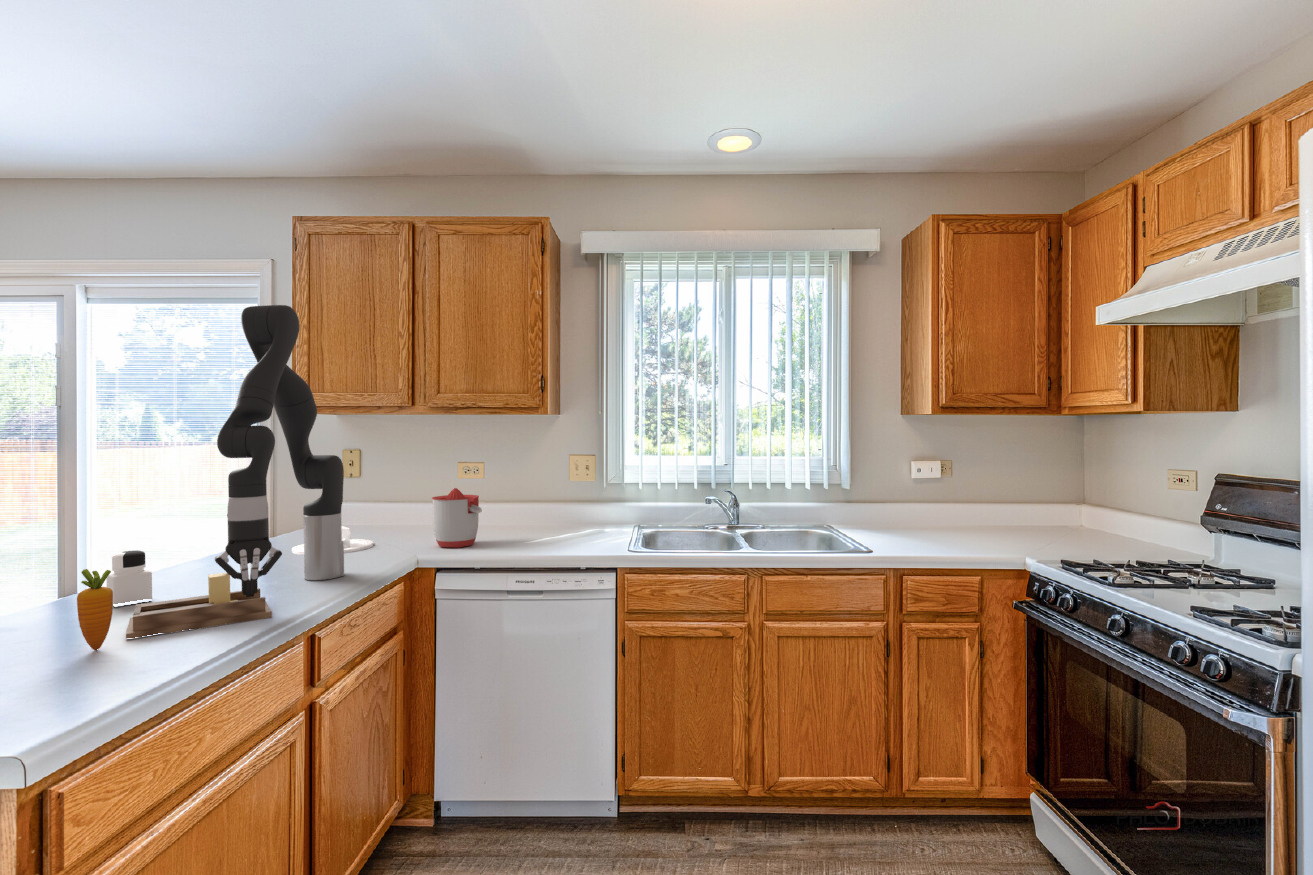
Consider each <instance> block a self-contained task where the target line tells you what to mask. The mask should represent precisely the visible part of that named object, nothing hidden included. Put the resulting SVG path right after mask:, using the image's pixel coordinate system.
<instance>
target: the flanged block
mask: <svg viewBox="0 0 1313 875" xmlns="http://www.w3.org/2000/svg"><path fill="white" fill-rule="evenodd" d="M207 578H208V580H207V581H208V582H207V583H208V595H209V603H213V602H214V604H218V603H225V602H232V601H238V600H232V601H230V592H231V576H230V575H229V574H228V573H227V572H221V573H212V574H208V575H207Z"/></svg>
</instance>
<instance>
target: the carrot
mask: <svg viewBox="0 0 1313 875" xmlns="http://www.w3.org/2000/svg"><path fill="white" fill-rule="evenodd" d="M111 572H112V570H110V569H106V570H105V571H104V572H103V573H102V575H100V574H99V572H98V571H97V570H93V571H91V572H90V570H89V569H88V568H84V569H82V570H81V572H80V573H81V574H82V576H83V578H85V580H82V581H80V583H81V584H83V585H84V586H87V587H88V588H85V589H84V590H81V591H80V592H79V593H78V594H77V596H76V606H77V607H76V608H77V617H78V618H77V619H78V624H79V627H80V629H81V633H82V636H83V639H84V640H85V642H86V643H87V644H88V645H89V647H90V648H91V649H92V650H94V651H95V650H97V649H98V650H99V649H101V647H102V645H103V643H104V642H105V640H106V638H107V636H108V634H109V631H110V627H111V622H112V617H113V608H114V607H113V591H112V589H110V588H107V586H103V585H104V583H105V581H106V578H107V577H108V575H109V574H110V573H111ZM91 573H92V574H91ZM98 650H97V651H98Z"/></svg>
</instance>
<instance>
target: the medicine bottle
mask: <svg viewBox="0 0 1313 875" xmlns="http://www.w3.org/2000/svg"><path fill="white" fill-rule="evenodd" d="M111 566H112V567H111V573H110V574H109V575H108V577H107V578H106V580H105V581H106V582H105V583H106V587H107V588H110V589H112V591H113V604H118V603H125V602H130V601H137V600H143V599H152V600H153V572H152V571H150V570H148V569H146V553H145V551H143V550H137V549H136V550H127V551H126V550H125V551H119V552H117V553H115V554H113V555H112V556H111Z"/></svg>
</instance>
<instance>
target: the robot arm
mask: <svg viewBox="0 0 1313 875" xmlns="http://www.w3.org/2000/svg"><path fill="white" fill-rule="evenodd" d="M240 320H241V321H240V324H241V328H242V330H243V334H244V337H245V340H246V341H247V344H248V345H249V348H250V350H251V352H252V354H253V356H254V358H255V361H256V362H257V363H256V364H255V365H254V366H253V367H252V368H251V369H250V370H249V371H248V372H247V374H246V375H245V377H244V378H243V379H242V382H241V384H240V388H239V391H238V394H237V398H236V404H235V406H234V408H233V410H232V411H231V413H230V414H229V416H228V418H227V419H226V421H225V422H224V423H223V426H222V427H221V428H220V431H219V433H218V435H217V438H216V441H217V442H216V445H217V448H218V451H219V453H220V455H222V456H223V457H225V458H228V459H244V458H245V459H251V461H250V463H249V465H248V466H246V467H244V468H238V469H234V470H232V471H230V472H229V473H228V477H227V478H228V479H227V482H228V483H227V485H228V487H227V490H228V502H227V514H226V516H227V545H226V546H225V551H223V552H221V554H219V555H216V556H215V557H214V562H215V563H216V564H217V565H218V566H219V567H221V568H222V569H223V570H224V571H225V573H228V574H229V575H230V578H232V579H235V580H240V581H241V591H242V593H243V595H246V597H253V596H254V594H255V593H257V591H258V588H259V587H258V586H259V585H258V579H259V578H260V577H262V576H265V575H267V574H268V573H269V572H270V571H271V569H272V568H273V567H274V565H275V564H276V563H277V562H278V561H279V559H280V558H281V557H282V555H283V552H282V550H280V549H277V548H275V547H274V546H272V542H271V541H270V532H269V527H270V525H269V503H268V498H267V496H268V495H267V494H268V493H267V491H268V490H267V475H268V471H269V466H270V461H271V459H272V456H273V452H274V450H275V446H276V445H275V444H276V438H275V434H274V432H273V431H272V429H270V428H269V427H268V426H266V425H255V424H259V423H263V422H266V421H267V420H269V419H270V418H271V417H272V414H273V409H274V411H275V414H276V415H277V419H278V421H279V424H280V426H281V429H282V432H283V435H284V438H285V441H286V445H287V448H288V452H289V455H290V460H291V463H292V464H291V465H292V469H293V473H294V476H295V479H296V482H297V484H298V485H299V486H300V487H301V488H303V489H305V490H306V489H307V490H322V491H321V496H319V497H318V498H317V499H316V500H313V501H310V502H308V503H305V504H304V505H303V507H302V508H303V509H302V512H303V516H302V518H303V520H302V521H303V544H304V555H303V563H304V564H303V574H304V579H305V580H307V581H323V580H331V579H335V578H340V577H344V576H345V553H344V542H343V541H342V526H343V525H342V508H343V507H342V506H343V503H344V502H343V500H344V479H345V477H344V476H345V474H344V472H345V470H344V463H343V461H342V459H341V458H340V456H338V455H334V454H333V455H332V454H323V455H322V454H320V455H319V454H318V455H316V454H315V455H314V454H313V453H312V450H311V449H310V448H311V447H310V444H309V443H310V442H309V439H310V434H311V432H312V429H313V426H314V425H315V422H316V419H317V416H318V408H317V405H316V402H315V401H316V400H315V398H314V395H313V392H312V390H311V388H310V385H309V384H308V383H307V382H306V380H304V378H302V377H301V376H300V375H299V374H298V373H296V371H294V370H293V369H292V368H291V367H290V366H289V365H287V364H288V361H289V360H290V357H291V354H292V353H293V351H294V348H295V345H296V343H297V340H298V338H299V333H300V320H299V316H298V314H297V312H296V310H294V308H292V307H291V306H289V305H286V304H274V305H251V306H247V307H245V308H244V309H243V310H242V312H241V317H240ZM267 554H268V557H269V558H268V559H267V560H266V562H265V563H264V564H263V565H262V566H261V568H260V562H262V561H263V560H264V558H265V557H266V555H267ZM229 556H230V558H231V559H232V560H233V561H234V562H235V563H236V564H239V568H240V570H239V571H237V570H235V569H234V568H233V567H232V566H231V565H230V564H229V561H230V559H229ZM248 564H250V574H249V565H248ZM259 568H260V569H259Z"/></svg>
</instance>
